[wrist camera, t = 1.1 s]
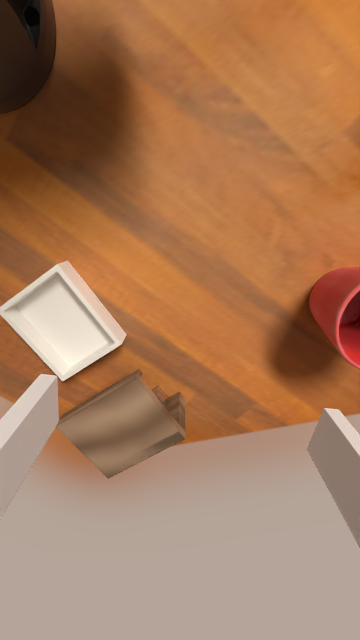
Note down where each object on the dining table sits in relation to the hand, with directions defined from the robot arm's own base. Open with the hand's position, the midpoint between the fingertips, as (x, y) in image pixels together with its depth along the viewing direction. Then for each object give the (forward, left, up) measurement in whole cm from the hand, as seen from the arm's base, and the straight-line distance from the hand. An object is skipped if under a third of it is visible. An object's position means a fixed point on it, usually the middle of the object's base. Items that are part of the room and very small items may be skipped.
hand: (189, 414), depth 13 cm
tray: (-6, -15, -23) cm, 28 cm away
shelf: (+8, -15, -23) cm, 28 cm away
